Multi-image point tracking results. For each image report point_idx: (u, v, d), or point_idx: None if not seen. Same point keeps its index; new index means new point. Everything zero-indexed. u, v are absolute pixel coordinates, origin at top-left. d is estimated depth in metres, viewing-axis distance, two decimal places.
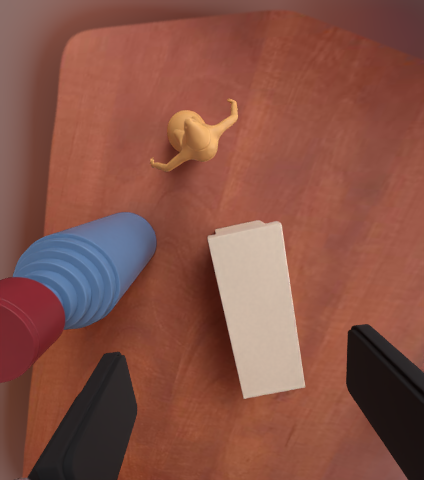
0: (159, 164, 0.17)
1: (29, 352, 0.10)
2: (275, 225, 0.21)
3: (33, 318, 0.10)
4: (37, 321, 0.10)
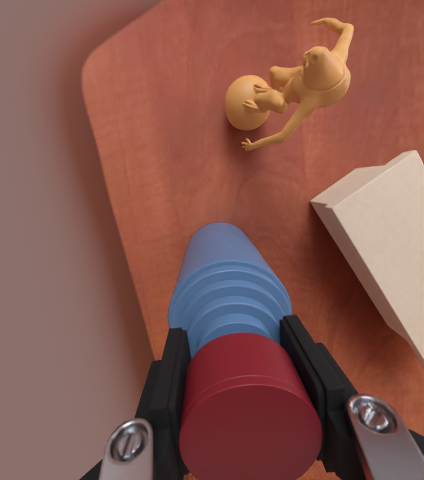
0: (266, 139, 0.14)
1: (316, 434, 0.07)
2: (410, 156, 0.17)
3: (297, 385, 0.07)
4: (301, 387, 0.07)
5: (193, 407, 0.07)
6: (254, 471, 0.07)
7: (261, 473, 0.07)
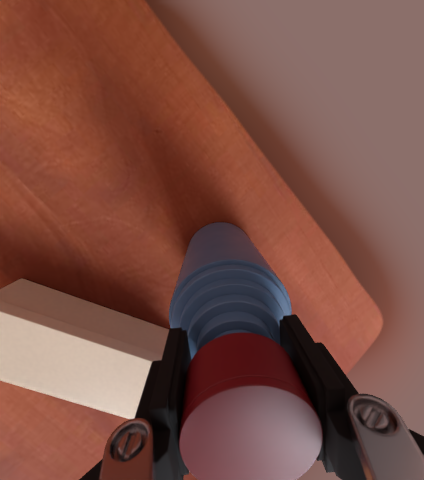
0: None
1: (316, 434, 0.07)
2: None
3: (297, 385, 0.07)
4: (301, 387, 0.07)
5: (193, 407, 0.07)
6: (254, 471, 0.07)
7: (261, 473, 0.07)
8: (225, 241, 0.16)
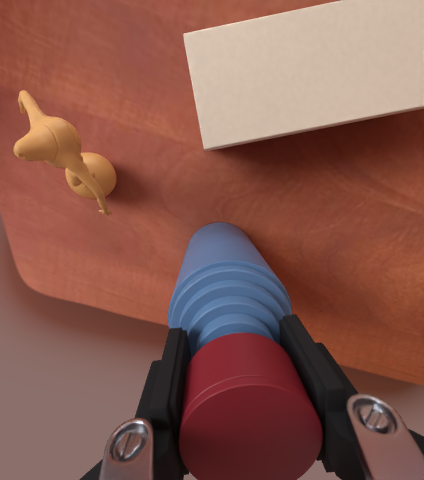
0: (98, 201, 0.14)
1: (316, 435, 0.07)
2: (186, 43, 0.15)
3: (297, 385, 0.07)
4: (301, 387, 0.07)
5: (193, 407, 0.07)
6: (254, 471, 0.07)
7: (261, 473, 0.07)
8: None
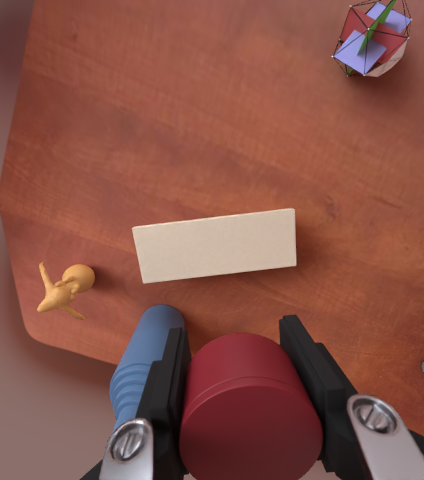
0: None
1: (316, 435, 0.07)
2: (133, 232, 0.27)
3: (297, 385, 0.07)
4: (301, 388, 0.07)
5: (193, 408, 0.07)
6: (254, 472, 0.07)
7: (261, 474, 0.07)
8: None
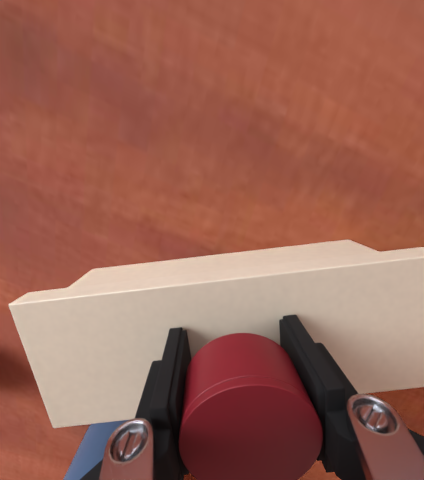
0: None
1: (316, 435, 0.07)
2: (14, 315, 0.10)
3: (297, 385, 0.07)
4: (301, 387, 0.07)
5: (193, 408, 0.07)
6: (254, 472, 0.07)
7: (261, 474, 0.07)
8: None
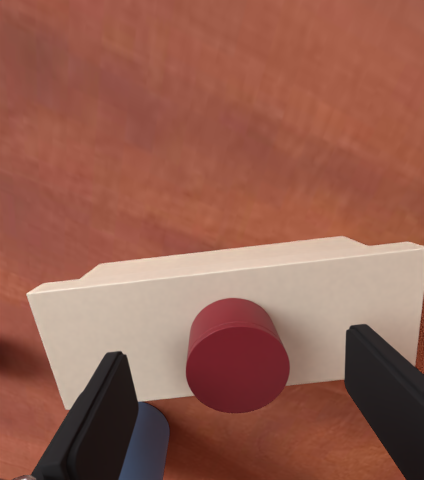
0: None
1: (285, 365, 0.09)
2: (31, 303, 0.11)
3: (271, 330, 0.10)
4: (274, 332, 0.10)
5: (196, 343, 0.09)
6: (240, 394, 0.10)
7: (246, 396, 0.10)
8: None
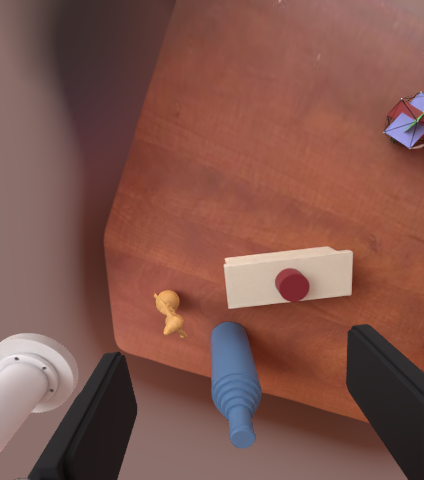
0: (183, 337, 0.34)
1: (308, 286, 0.33)
2: (225, 269, 0.34)
3: (304, 276, 0.33)
4: (305, 277, 0.33)
5: (283, 279, 0.32)
6: (294, 295, 0.33)
7: (296, 296, 0.33)
8: None
